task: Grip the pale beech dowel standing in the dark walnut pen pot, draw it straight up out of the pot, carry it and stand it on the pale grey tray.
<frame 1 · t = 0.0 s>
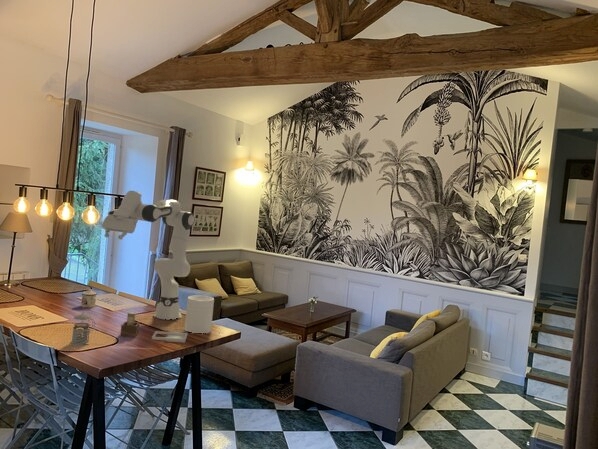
hand: (112, 237, 238), 54 cm above the table, tool tilted 30°, fingers open, 8 cm apart
canister: (197, 330, 270), on the table
teacup with lid: (89, 306, 299), on the table
tray: (169, 338, 248), on the table
pen pot: (129, 336, 245), on the table
dowel: (129, 334, 245), point 1 cm above the table, touching pen pot
french press: (81, 343, 226), on the table
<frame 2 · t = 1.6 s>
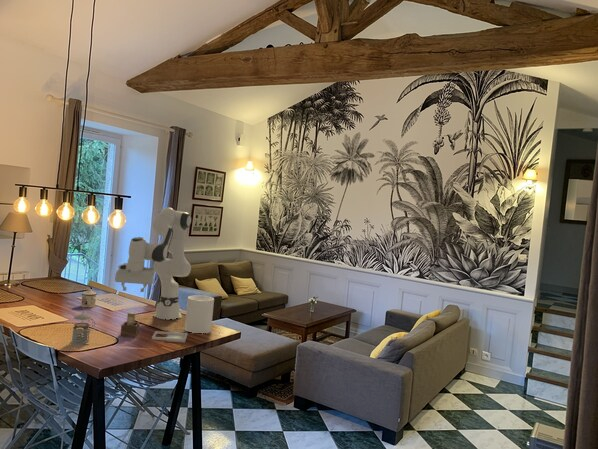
hand: (133, 291, 244), 25 cm above the table, tool pointing down, fingers open, 8 cm apart
nothing on the table moved.
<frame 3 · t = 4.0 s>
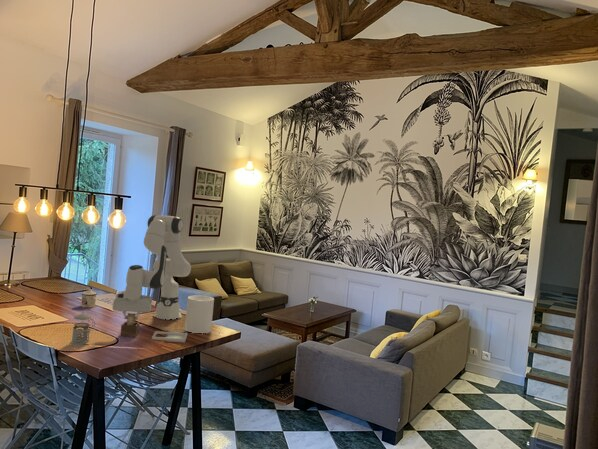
hand: (131, 319, 245), 10 cm above the table, tool pointing down, fingers closed on dowel, 4 cm apart
dowel: (129, 334, 245), point 1 cm above the table, touching gripper, pen pot
everything else where it was.
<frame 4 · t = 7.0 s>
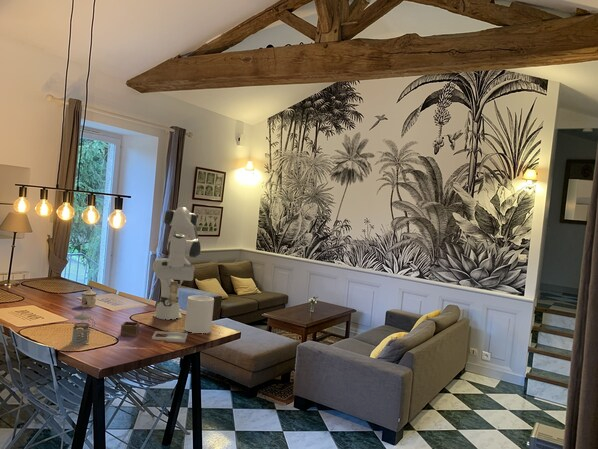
hand: (174, 287, 247), 29 cm above the table, tool pointing down, fingers closed on dowel, 4 cm apart
dowel: (172, 302, 247), point 20 cm above the table, touching gripper
everything else where it was.
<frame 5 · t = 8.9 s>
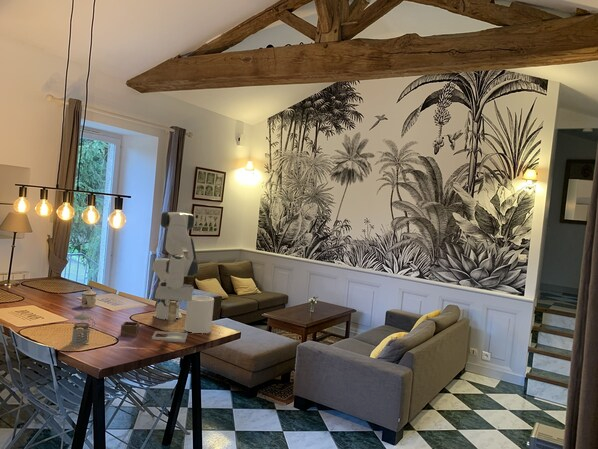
hand: (172, 307, 248), 18 cm above the table, tool pointing down, fingers closed on dowel, 4 cm apart
dowel: (171, 323, 248), point 9 cm above the table, touching gripper
everything else where it was.
when the fingers open (10 cm above the table, at t = 10.4 s): dowel stays where it is, resting on tray.
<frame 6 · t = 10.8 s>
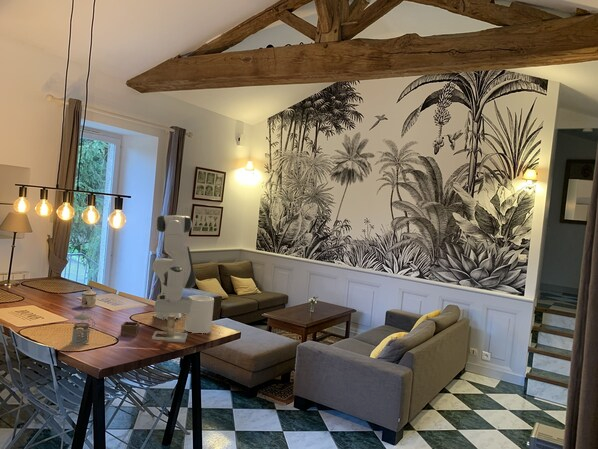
hand: (171, 320, 248), 10 cm above the table, tool pointing down, fingers open, 8 cm apart
dowel: (170, 337, 248), point 1 cm above the table, touching tray
everything else where it was.
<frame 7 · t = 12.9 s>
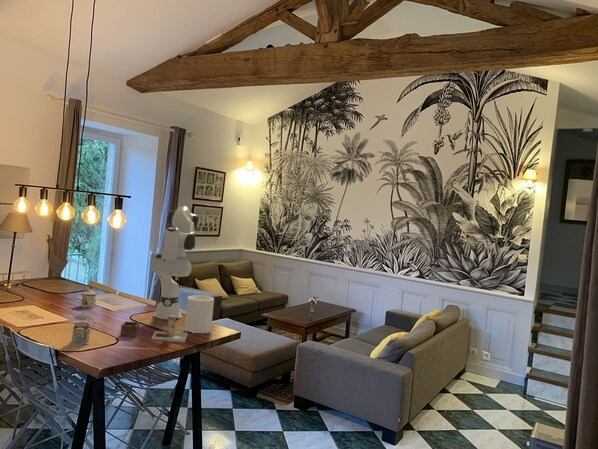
hand: (168, 279, 253), 32 cm above the table, tool pointing down, fingers open, 8 cm apart
nothing on the table moved.
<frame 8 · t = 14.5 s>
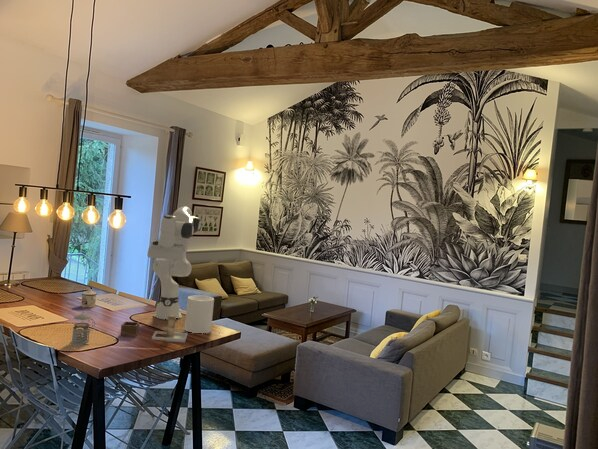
hand: (164, 266, 256), 39 cm above the table, tool pointing down, fingers open, 8 cm apart
nothing on the table moved.
at the end: dowel inside the target area on the tray (0.1 cm from its centre), point 0.6 cm above the tray's base; the gripper is holding nothing; dowel touching tray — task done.
